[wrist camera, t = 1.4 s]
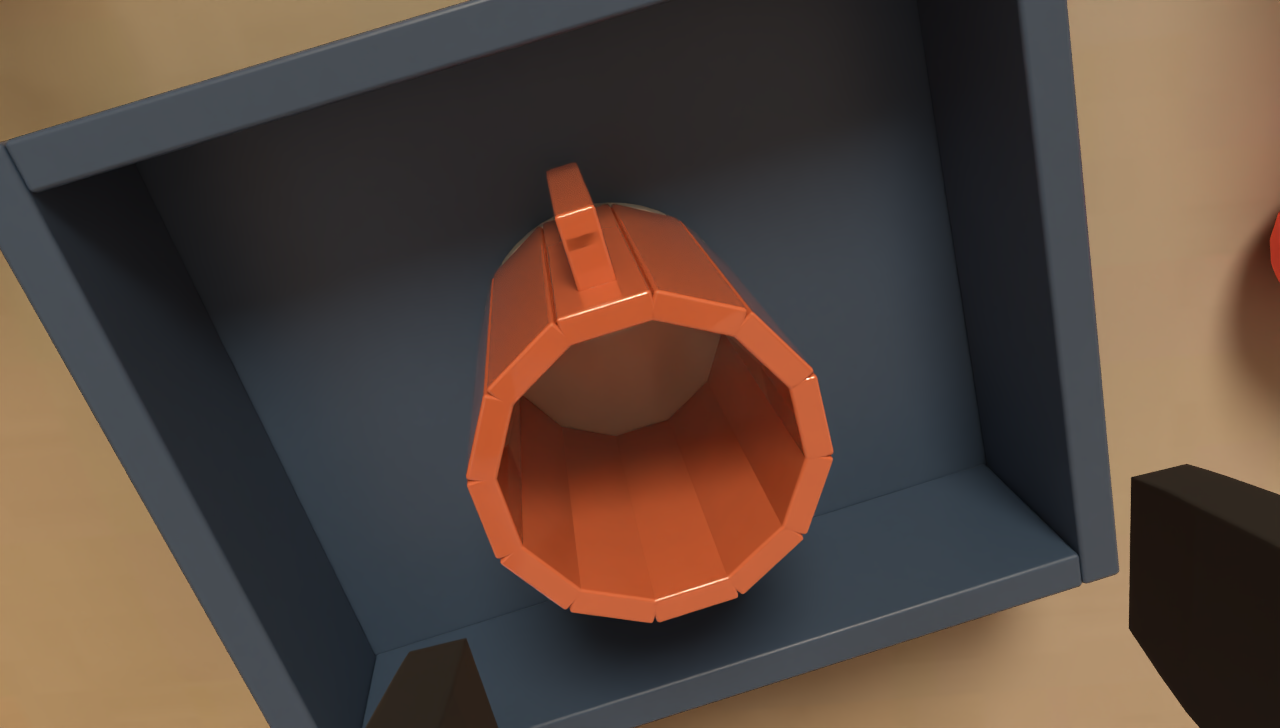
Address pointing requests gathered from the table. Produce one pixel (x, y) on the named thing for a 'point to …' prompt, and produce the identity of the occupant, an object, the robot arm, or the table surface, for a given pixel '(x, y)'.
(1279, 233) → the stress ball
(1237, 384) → the table surface
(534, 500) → the cup
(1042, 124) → the bin
